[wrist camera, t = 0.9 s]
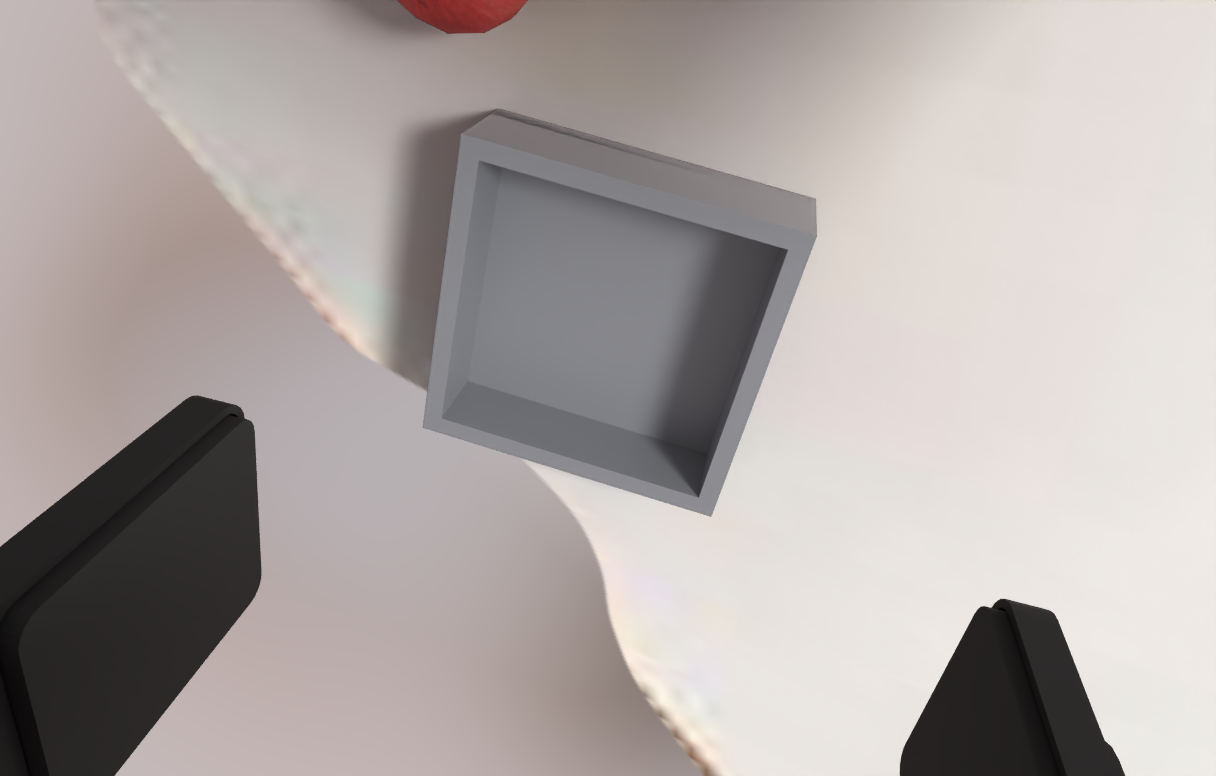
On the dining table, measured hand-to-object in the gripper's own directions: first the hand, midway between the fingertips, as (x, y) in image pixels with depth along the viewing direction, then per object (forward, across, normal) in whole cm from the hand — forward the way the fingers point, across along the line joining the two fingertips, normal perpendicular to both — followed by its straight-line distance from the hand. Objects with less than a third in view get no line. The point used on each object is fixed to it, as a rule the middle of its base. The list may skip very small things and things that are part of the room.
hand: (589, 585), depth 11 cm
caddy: (+27, +3, +8) cm, 29 cm away
